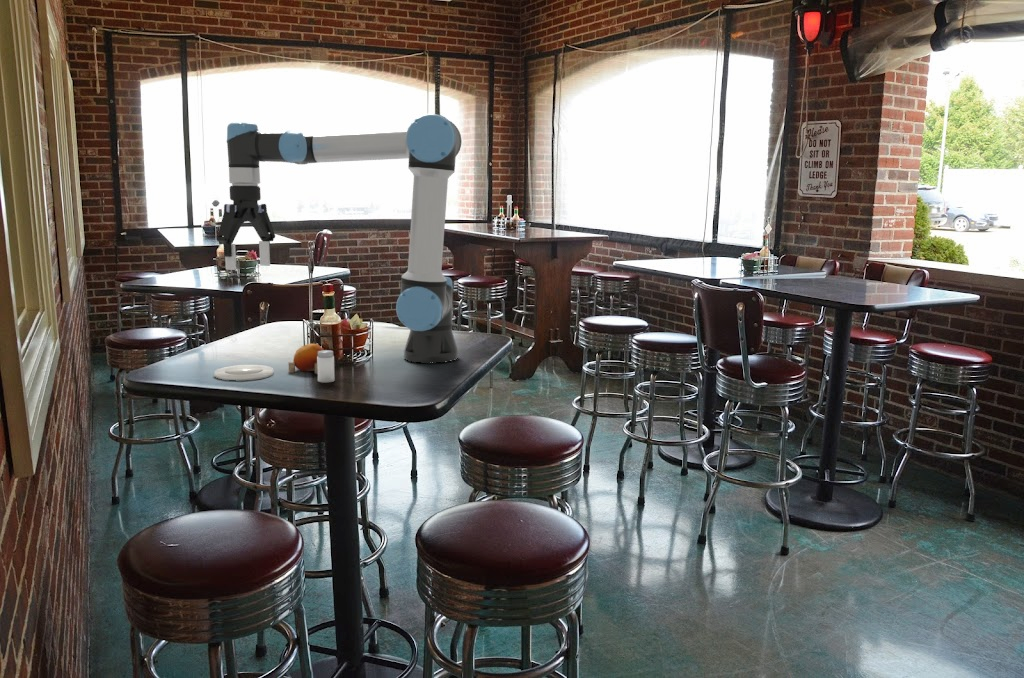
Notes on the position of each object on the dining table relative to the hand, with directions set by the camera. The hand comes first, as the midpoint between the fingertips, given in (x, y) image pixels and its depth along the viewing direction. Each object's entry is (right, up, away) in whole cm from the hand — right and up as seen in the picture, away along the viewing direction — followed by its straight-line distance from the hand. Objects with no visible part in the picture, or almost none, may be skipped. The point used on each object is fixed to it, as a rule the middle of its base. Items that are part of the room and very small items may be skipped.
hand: (248, 267), depth 212 cm
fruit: (+17, -27, -3) cm, 32 cm away
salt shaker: (+24, -29, -14) cm, 40 cm away
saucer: (+2, -28, -9) cm, 29 cm away
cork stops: (+17, -27, -3) cm, 31 cm away
